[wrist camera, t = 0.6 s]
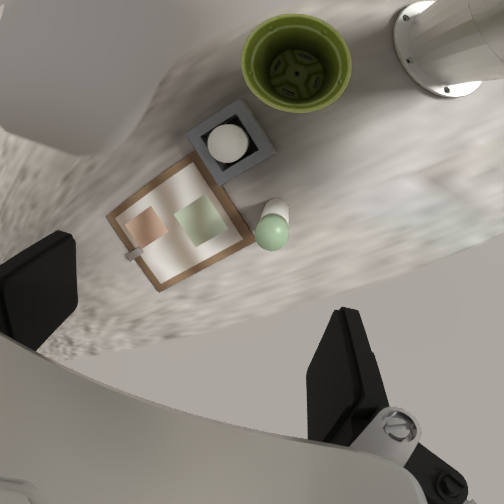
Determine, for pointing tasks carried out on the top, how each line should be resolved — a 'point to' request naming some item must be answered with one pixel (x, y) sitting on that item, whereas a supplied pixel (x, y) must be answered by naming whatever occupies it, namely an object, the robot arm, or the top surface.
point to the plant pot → (296, 63)
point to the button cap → (228, 143)
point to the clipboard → (180, 223)
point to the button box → (220, 118)
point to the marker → (273, 225)
